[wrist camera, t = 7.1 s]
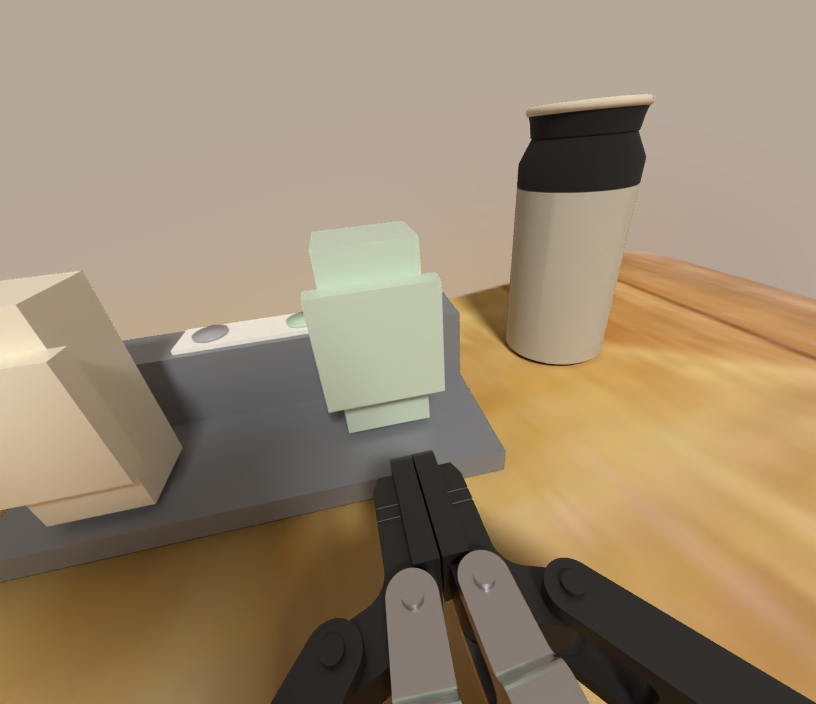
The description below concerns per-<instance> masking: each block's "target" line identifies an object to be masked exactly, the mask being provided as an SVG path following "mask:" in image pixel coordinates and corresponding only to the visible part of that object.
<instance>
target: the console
mask: <svg viewBox="0 0 816 704" xmlns="http://www.w3.org/2000/svg"><path fill="white" fill-rule="evenodd" d="M442 309H443V341H444V374H445V391H441V392H436V393H430V394H428V398H429V414H430V417H429V418H424V419H419V420H414V421H409V422H404V423H399V424H394V425H389V426H384V427H379V428H374V429H369V430H364V431H359V432H354V433H349V430H348V425H347V421H346V416H345V412H344V410H340V411H335V412H330V413H329V412H328V408H327V404H326V400H325V396H324V392H323V388H322V384H321V380H320V376H319V372H318V368H317V364H316V361H315V357H314V353H313V349H312V345H311V341H310V337H309V333H308V329H307V325H306V321H305V317H304V313H303V312H299V313H294V314H288V315H281V316H275V317H268V318H262V319H255V320H248V321H241V322H235V323H228V324H222V325H212V326H208V327H203V328H195V329H189V330H186V331H184V332H177V333H171V334H164V335H157V336H151V337H144V338H137V339H131V340H124V341H123V343H124V345H125V347H126V348H127V350H128V352H129V354H130V355H131V357H132V359H133V361H134V363H135V364H136V366H137V368H138V370H139V371H140V373H141V375H142V377H143V378H144V380H145V382H146V384H147V385H148V387H149V389H150V391H151V392H152V394H153V396H154V398H155V399H156V401H157V403H158V405H159V406H160V408H161V410H162V412H163V414H164V415H165V417H166V419H167V421H168V422H169V424H170V426H171V428H172V429H173V431H174V433H175V435H176V436H177V438H178V440H179V442H180V443H181V445H182V447H183V448H182V450H181V452H180V454H179V456H178V458H177V460H176V462H175V465H174V467H173V469H172V471H171V473H170V475H169V477H168V479H167V481H166V484H165V486H164V488H163V490H162V492H161V494H160V496H159V498H158V500H157V503H156V504H153V505H148V506H144V507H139V508H134V509H129V510H124V511H120V512H115V513H110V514H105V515H101V516H96V517H91V518H86V519H81V520H77V521H72V522H67V523H62V524H58V525H53V526H48V527H47V526H46V525H45V524H44V523H43V522H42V521H41V520H40V519H39V518H38V517H37V516H36V515H35V514H34V513H33V512H32V511H31V510H30V509H28V508H27V507H26V506H20V507H15V508H10V509H8V510H7V511H6V513H5V514H4V515H3V516H2V517H1V518H0V582H3V581H8V580H12V579H17V578H21V577H25V576H30V575H34V574H39V573H43V572H48V571H52V570H57V569H61V568H66V567H70V566H75V565H79V564H83V563H88V562H92V561H97V560H101V559H106V558H110V557H115V556H119V555H124V554H128V553H133V552H137V551H141V550H146V549H150V548H155V547H159V546H164V545H168V544H173V543H177V542H182V541H186V540H190V539H195V538H199V537H204V536H208V535H213V534H217V533H222V532H226V531H231V530H235V529H240V528H244V527H248V526H253V525H257V524H262V523H266V522H271V521H275V520H280V519H284V518H289V517H293V516H297V515H302V514H306V513H311V512H315V511H320V510H324V509H329V508H333V507H338V506H342V505H347V504H351V503H355V502H360V501H364V500H369V499H373V498H374V495H373V492H374V488H375V485H376V482H377V479H378V478H382V477H387V476H391V475H392V472H391V465H390V459H392V458H397V457H401V456H406V455H412V454H415V453H419V452H424V451H428V450H432V451H433V452H434V455H435V458H436V460H437V463H438V465H440V464H444V463H448V462H451V463H452V464H453V465H454V466H455V467H456V468H457V469H458V470H459V471H460V472H461V473H462V476H463V478H467V477H471V476H476V475H480V474H485V473H489V472H494V471H498V470H503V469H504V462H505V449H504V448H503V446H502V444H501V442H500V441H499V439H498V437H497V436H496V434H495V432H494V431H493V429H492V427H491V425H490V424H489V422H488V420H487V419H486V417H485V415H484V414H483V412H482V410H481V409H480V407H479V405H478V403H477V402H476V400H475V398H474V397H473V395H472V393H471V392H470V390H469V388H468V387H467V385H466V383H465V381H464V380H463V378H462V376H461V375H460V326H459V312H458V310H457V309H456V308H455V307H454V305H453V304H452V303H451V302H450V300H449V299H448V298H447V297H446V296H445V294H444V293H443V292H442ZM411 458H412V457H411Z"/></svg>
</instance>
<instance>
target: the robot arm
mask: <svg viewBox="0 0 816 704" xmlns="http://www.w3.org/2000/svg"><path fill="white" fill-rule="evenodd" d="M411 457H412V458H411ZM390 465H391V472H392V475H391V476H387V477H382V478H378V479H377V482H376V485H375V488H374V492H373V495H374V502H375V509H376V516H377V522H378V530H379V536H380V543H381V550H382V557H383V564H384V572H385V578H384V584H383V587H382V590H381V592H380V594H379V596H378V597H377V599H376V600H375V601H374V602H373V603H372V605H370V606H369V607H368V608H367V609H365V610H364V611H363V612H361V613H360V614H358V615H357V616H355V617H354V618H353V619H351V620H350V621H349V620H346V619H342V618H335V619H331V620H328V621H326V622H324V623H323V624H321V625H320V626H319V627H318V628H317V629H316V630H315V631H314V632H313V633H312V635H311V636H310V638H309V640H308V641H307V643H306V645H305V646H304V648H303V650H302V651H301V653H300V655H299V656H298V658H297V660H296V662H295V663H294V665H293V667H292V668H291V670H290V672H289V673H288V675H287V677H286V678H285V680H284V682H283V684H282V685H281V687H280V689H279V690H278V692H277V694H276V695H275V697H274V699H273V700H272V702H271V704H382V703H383V702H384V701H385V700H386V699H387V698H389V697H390V696H391V695H392V704H462V702H461V698H460V694H459V692H458V688H457V683H456V678H455V673H454V668H453V662H452V657H451V652H450V647H449V641H448V636H447V631H446V626H445V620H444V615H443V604H442V602H443V597H442V592H443V596H444V600H445V601H449V600H452V599H453V601H454V605H455V608H456V612H457V615H458V624H459V630H460V634H461V636H462V639H463V642H464V645H465V648H466V651H467V653H468V656H469V659H470V662H471V665H472V668H473V671H474V673H475V676H476V679H477V682H478V685H479V688H480V690H481V693H482V696H483V699H484V702H485V704H589V702H588V700H587V698H586V696H585V695H584V693H583V691H582V689H581V687H580V685H579V683H578V682H577V680H578V681H579V682H581V683H582V684H583V685H584V686H586V687H587V688H588V689H589V690H591V691H592V692H593V693H595V694H596V695H597V696H598V697H600V698H601V699H602V700H603V701H605V702H606V703H607V704H816V703H815V702H813V701H812V700H810V699H808V698H806V697H805V696H803V695H801V694H800V693H798V692H796V691H795V690H793V689H791V688H790V687H788V686H786V685H785V684H783V683H781V682H780V681H778V680H776V679H775V678H773V677H771V676H770V675H768V674H766V673H765V672H763V671H761V670H760V669H758V668H756V667H755V666H753V665H751V664H750V663H748V662H746V661H745V660H743V659H741V658H740V657H738V656H736V655H735V654H733V653H731V652H730V651H728V650H726V649H725V648H723V647H721V646H720V645H718V644H716V643H715V642H713V641H711V640H710V639H708V638H706V637H704V636H703V635H701V634H699V633H698V632H696V631H694V630H693V629H691V628H689V627H688V626H686V625H684V624H683V623H681V622H679V621H678V620H676V619H674V618H673V617H671V616H669V615H668V614H666V613H664V612H663V611H661V610H659V609H658V608H656V607H654V606H653V605H651V604H649V603H648V602H646V601H644V600H643V599H641V598H639V597H638V596H636V595H634V594H633V593H631V592H629V591H628V590H626V589H624V588H623V587H621V586H619V585H618V584H616V583H614V582H613V581H611V580H609V579H608V578H606V577H604V576H602V575H601V574H599V573H597V572H596V571H594V570H592V569H591V568H589V567H587V566H586V565H584V564H582V563H581V562H579V561H577V560H574V559H570V558H558V559H555V560H553V561H551V562H550V563H549V564H548V565H547V567H546V568H544V567H534V566H524V565H518V564H515V563H512V562H510V561H508V560H507V559H505V558H503V557H502V556H501V555H500V554H499V553H498V552H497V551H496V550H495V548H494V547H493V545H492V543H491V541H490V539H489V536H488V534H487V532H486V529H485V527H484V525H483V522H482V520H481V518H480V515H479V513H478V511H477V508H476V506H475V504H474V501H473V500H472V497H471V494H470V492H469V490H468V488H467V485H466V483H465V480H464V478H463V476H462V473H461V472H460V471H459V470H458V469H457V468H456V467H455V466H454V465H453V464H452V463H451V462H448V463H444V464H440V465H438V463H437V460H436V458H435V455H434V452H433V451H432V450H428V451H424V452H419V453H415V454H412V455H406V456H401V457H397V458H392V459H390ZM576 679H577V680H576Z"/></svg>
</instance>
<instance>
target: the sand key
mask: <svg viewBox="0 0 816 704" xmlns="http://www.w3.org/2000/svg"><path fill="white" fill-rule="evenodd" d="M182 448H183V447H182V445H181V443H180V442H179V440H178V438H177V436H176V435H175V433H174V431H173V429H172V428H171V426H170V424H169V422H168V421H167V419H166V417H165V415H164V414H163V412H162V410H161V408H160V406H159V405H158V403H157V401H156V399H155V398H154V396H153V394H152V392H151V391H150V389H149V387H148V385H147V384H146V382H145V380H144V378H143V377H142V375H141V373H140V371H139V370H138V368H137V366H136V364H135V363H134V361H133V359H132V357H131V355H130V354H129V352H128V350H127V348H126V347H125V345H124V343H123V341H122V340H121V338H120V336H119V335H118V333H117V331H116V329H115V327H114V326H113V324H112V322H111V320H110V319H109V317H108V315H107V313H106V312H105V310H104V308H103V306H102V305H101V303H100V301H99V299H98V298H97V296H96V294H95V292H94V291H93V289H92V287H91V285H90V283H89V282H88V280H87V278H86V276H85V275H84V273H83V271H75V272H67V273H59V274H51V275H43V276H36V277H27V278H20V279H12V280H4V281H0V510H5V509H10V508H15V507H20V506H26V507H27V508H28V509H30V510H31V511H32V512H33V513H34V514H35V515H36V516H37V517H38V518H39V519H40V520H41V521H42V522H43V523H44V524H45V525H46V526H47V527H48V526H53V525H58V524H62V523H67V522H72V521H77V520H81V519H86V518H91V517H96V516H101V515H105V514H110V513H115V512H120V511H124V510H129V509H134V508H139V507H144V506H148V505H153V504H156V503H157V500H158V498H159V496H160V494H161V492H162V490H163V488H164V486H165V484H166V481H167V479H168V477H169V475H170V473H171V471H172V469H173V467H174V465H175V462H176V460H177V458H178V456H179V454H180V452H181V450H182Z"/></svg>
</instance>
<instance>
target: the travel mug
mask: <svg viewBox="0 0 816 704" xmlns="http://www.w3.org/2000/svg"><path fill="white" fill-rule="evenodd" d="M654 101H655V96H654V95H652V94H639V95H626V96H614V97H604V98H595V99H586V100H577V101H569V102H561V103H555V104H548V105H541V106H536V107H531V108H529V109H528V110H527V111H526V115H527V117H529V121H530V135H531V139H532V140H531V142H530V144H529V146H528V147H527V149H526V151H525V153H524V155H523V157H522V159H521V161H520V163H519V167H518V182H517V195H516V208H515V223H514V236H513V249H512V250H513V251H512V264H511V276H510V277H511V278H510V290H509V304H508V317H507V331H506V341H507V344H508V345H509V347H510V348H511V349H512V350H514V351H515V352H516V353H518V354H520V355H522V356H524V357H526V358H529V359H532V360H534V361H539V362H543V363H547V364H575V363H581V362H584V361H587V360H590V359H592V358H594V357H595V356H596V355H598V353H599V352H600V350H601V346H602V342H603V338H604V334H605V330H606V325H607V321H608V317H609V313H610V308H611V304H612V300H613V296H614V291H615V287H616V283H617V279H618V274H619V270H620V266H621V262H622V257H623V253H624V249H625V245H626V240H627V236H628V232H629V227H630V223H631V219H632V215H633V211H634V206H635V202H636V198H637V194H638V190H639V185H640V181H641V177H642V172H643V168H644V164H645V160H646V155H645V152H644V148H643V144H642V141H641V138H640V134H639V130H640V129H641V126H642V123H643V120H644V117H645V114H646V112H647V110H648V108H649V106H650V105H651V104H653V103H654Z"/></svg>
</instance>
